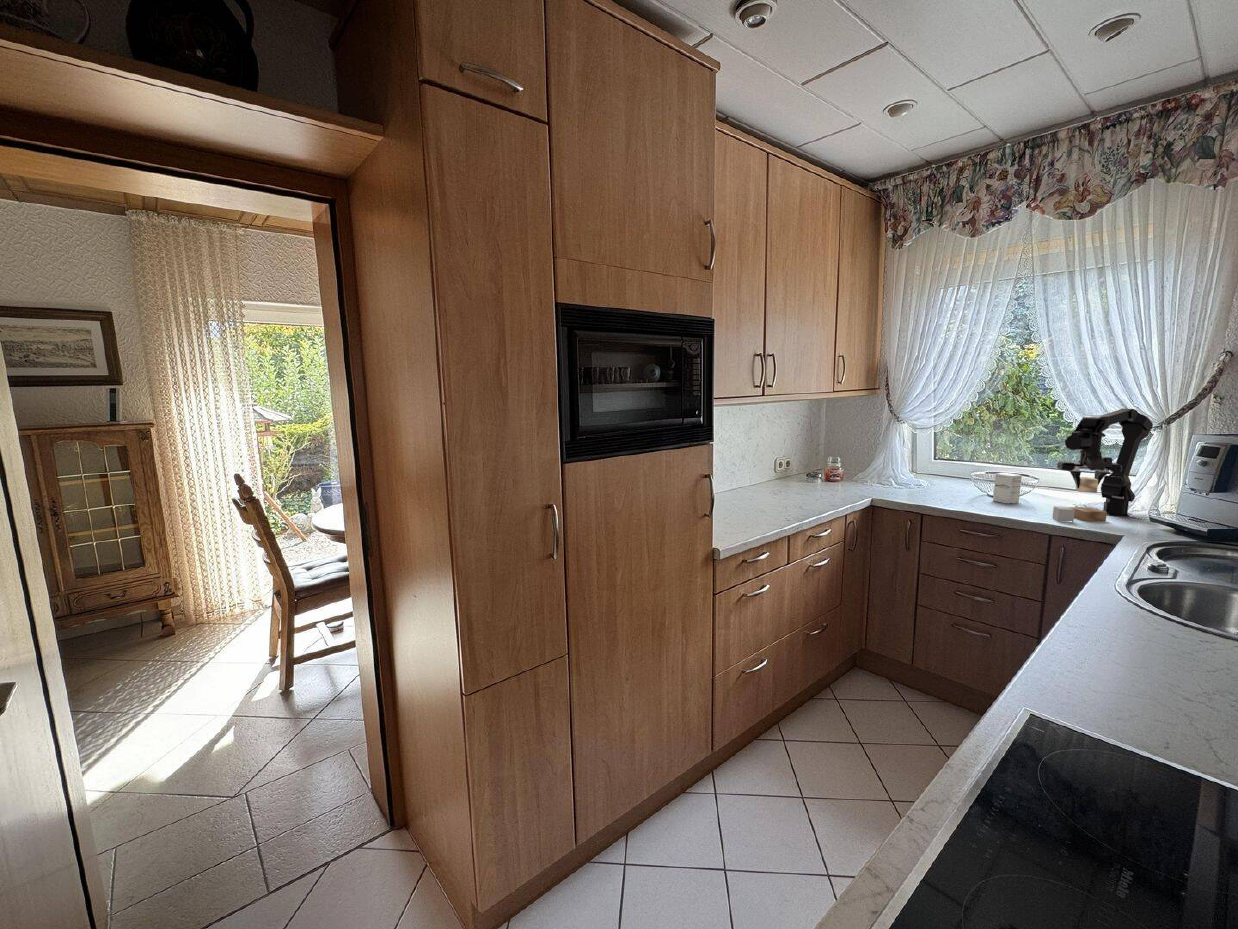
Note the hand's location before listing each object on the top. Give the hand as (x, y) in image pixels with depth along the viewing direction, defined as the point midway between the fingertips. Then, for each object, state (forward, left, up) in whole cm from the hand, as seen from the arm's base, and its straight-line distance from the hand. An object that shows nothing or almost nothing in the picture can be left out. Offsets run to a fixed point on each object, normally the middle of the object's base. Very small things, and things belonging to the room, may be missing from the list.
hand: (1086, 488), depth 217 cm
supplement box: (+19, -25, -12) cm, 34 cm away
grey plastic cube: (+9, +7, -12) cm, 16 cm away
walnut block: (-1, +1, -12) cm, 12 cm away
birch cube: (0, 0, -1) cm, 1 cm away
